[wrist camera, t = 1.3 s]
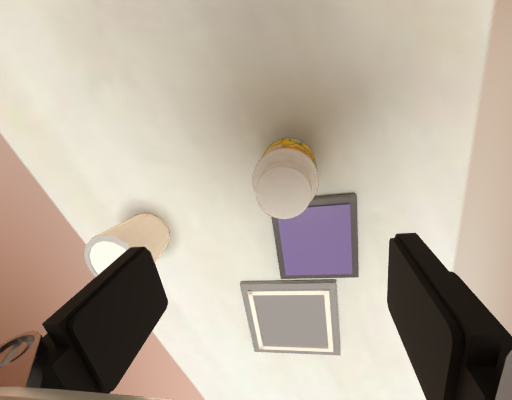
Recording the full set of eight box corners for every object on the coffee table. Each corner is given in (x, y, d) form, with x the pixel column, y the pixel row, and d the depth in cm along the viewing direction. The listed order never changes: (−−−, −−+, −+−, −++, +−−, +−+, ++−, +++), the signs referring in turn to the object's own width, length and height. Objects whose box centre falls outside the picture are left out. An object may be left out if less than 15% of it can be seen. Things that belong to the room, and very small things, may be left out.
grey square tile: (241, 281, 33) (239, 286, 32) (335, 279, 30) (336, 284, 30) (255, 347, 37) (254, 353, 36) (339, 351, 34) (340, 357, 34)
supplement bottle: (253, 156, 27) (230, 182, 18) (296, 126, 25) (293, 139, 16) (282, 196, 28) (273, 239, 19) (324, 170, 26) (336, 204, 17)
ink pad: (270, 200, 28) (269, 204, 27) (354, 193, 26) (357, 197, 25) (281, 274, 32) (280, 280, 30) (356, 272, 30) (359, 278, 28)
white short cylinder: (184, 244, 32) (155, 278, 26) (146, 262, 35) (111, 298, 28) (153, 200, 31) (113, 225, 24) (115, 221, 33) (70, 250, 27)
